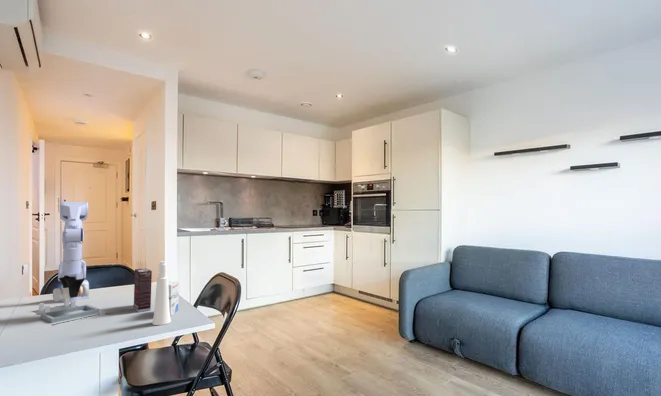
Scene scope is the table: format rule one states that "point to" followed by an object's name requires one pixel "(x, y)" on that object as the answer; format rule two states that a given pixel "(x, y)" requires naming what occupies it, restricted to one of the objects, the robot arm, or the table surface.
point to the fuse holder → (48, 309)
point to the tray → (49, 318)
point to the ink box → (173, 296)
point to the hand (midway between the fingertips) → (71, 296)
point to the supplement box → (142, 290)
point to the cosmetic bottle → (162, 297)
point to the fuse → (64, 293)
